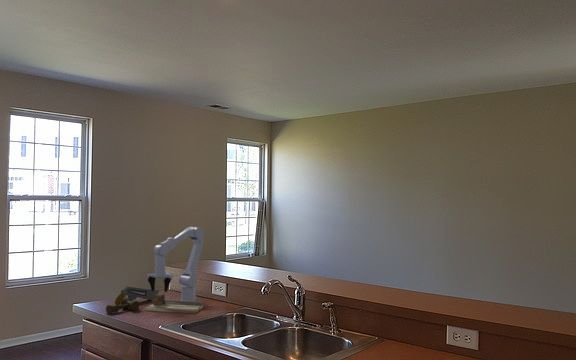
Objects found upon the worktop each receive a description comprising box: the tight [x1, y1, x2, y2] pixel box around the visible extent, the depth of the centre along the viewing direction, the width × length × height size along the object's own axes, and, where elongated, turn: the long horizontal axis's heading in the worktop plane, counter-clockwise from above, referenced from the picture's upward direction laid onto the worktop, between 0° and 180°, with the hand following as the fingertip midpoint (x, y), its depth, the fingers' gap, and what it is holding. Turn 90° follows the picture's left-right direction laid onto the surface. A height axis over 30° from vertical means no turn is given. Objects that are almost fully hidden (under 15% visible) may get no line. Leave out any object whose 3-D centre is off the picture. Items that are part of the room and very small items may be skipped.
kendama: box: [105, 297, 141, 315], centre depth 262 cm, size 6×10×20 cm
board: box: [144, 299, 204, 314], centre depth 267 cm, size 13×28×4 cm, turn 79°
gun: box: [114, 285, 160, 305], centre depth 284 cm, size 3×25×15 cm, turn 136°
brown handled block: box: [151, 293, 166, 306], centre depth 269 cm, size 10×4×6 cm, turn 169°
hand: (159, 291), depth 271 cm, fingers open, 7 cm apart
